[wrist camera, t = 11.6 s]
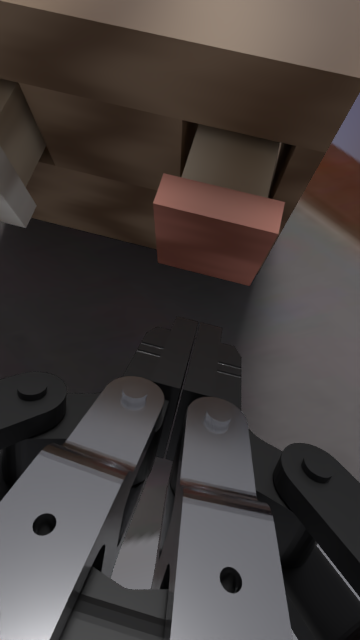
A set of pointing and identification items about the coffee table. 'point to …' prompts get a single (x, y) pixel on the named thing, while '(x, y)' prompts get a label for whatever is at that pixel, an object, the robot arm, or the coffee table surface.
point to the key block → (172, 95)
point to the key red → (219, 207)
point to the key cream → (17, 154)
